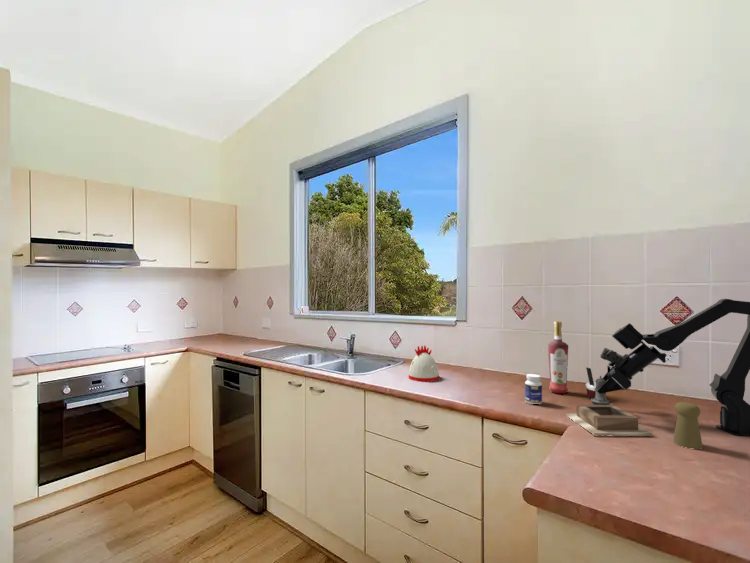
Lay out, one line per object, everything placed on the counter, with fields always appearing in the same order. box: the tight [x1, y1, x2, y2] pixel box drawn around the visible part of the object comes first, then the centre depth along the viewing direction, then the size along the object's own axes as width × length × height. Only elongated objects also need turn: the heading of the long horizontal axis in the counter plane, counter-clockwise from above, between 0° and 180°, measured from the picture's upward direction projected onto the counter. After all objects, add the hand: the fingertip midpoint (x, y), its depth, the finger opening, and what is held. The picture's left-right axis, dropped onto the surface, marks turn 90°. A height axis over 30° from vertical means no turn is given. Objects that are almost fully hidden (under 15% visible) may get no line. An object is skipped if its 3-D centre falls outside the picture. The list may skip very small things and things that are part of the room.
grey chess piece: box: [590, 375, 612, 405], centre depth 126 cm, size 6×6×12 cm
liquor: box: [547, 321, 569, 395], centre depth 148 cm, size 7×7×28 cm
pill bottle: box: [524, 373, 543, 405], centre depth 135 cm, size 6×6×10 cm
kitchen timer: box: [408, 344, 440, 383], centre depth 172 cm, size 14×14×15 cm
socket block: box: [565, 404, 652, 438], centre depth 113 cm, size 16×16×4 cm
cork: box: [672, 401, 704, 450], centre depth 100 cm, size 6×6×11 cm
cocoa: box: [585, 367, 596, 400], centre depth 140 cm, size 10×6×12 cm, turn 98°
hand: (598, 389), depth 126 cm, fingers open, 9 cm apart
